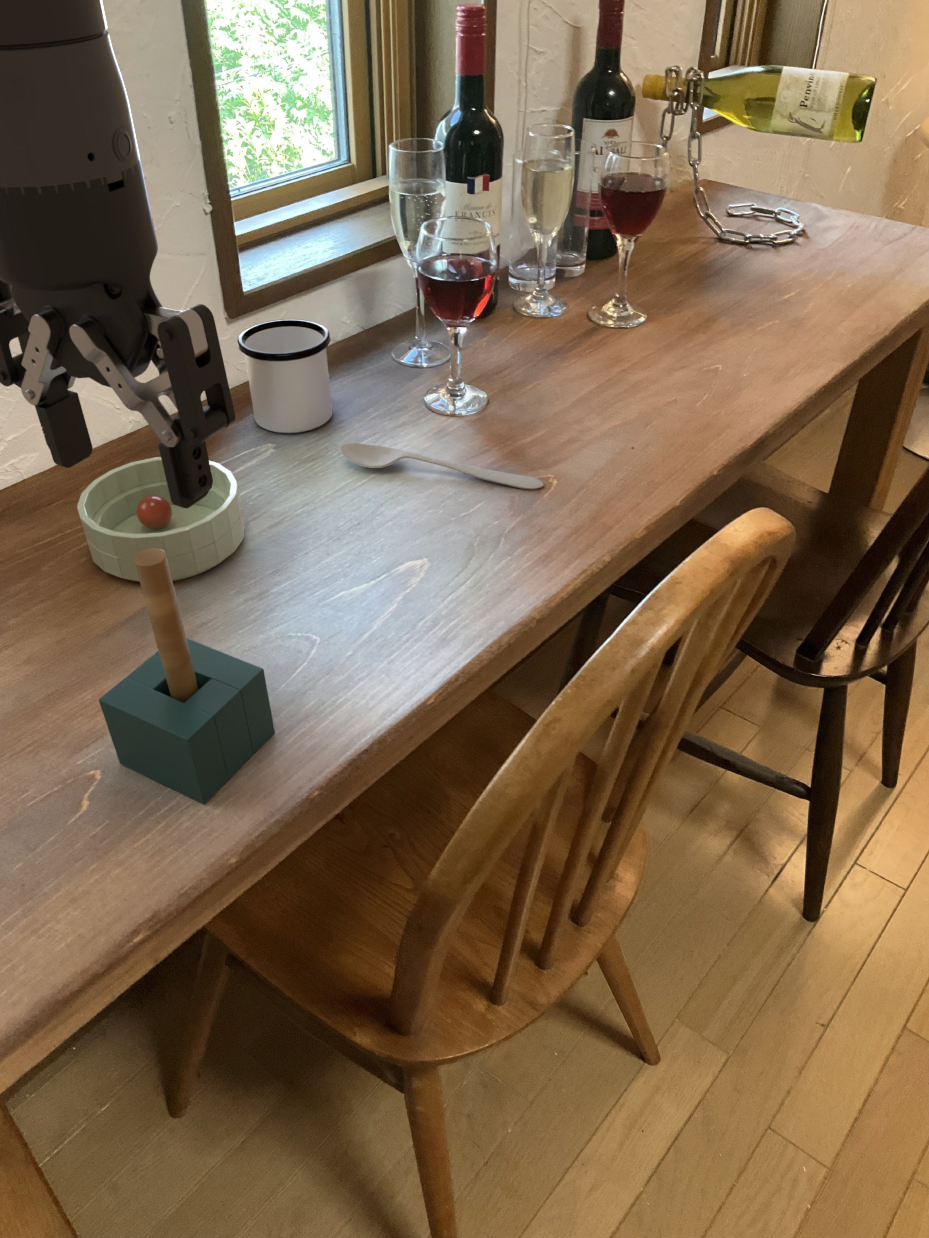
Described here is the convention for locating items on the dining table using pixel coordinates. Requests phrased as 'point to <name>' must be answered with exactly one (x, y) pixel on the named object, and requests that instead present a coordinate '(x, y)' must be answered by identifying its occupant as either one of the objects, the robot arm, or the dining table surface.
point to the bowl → (186, 539)
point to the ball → (154, 512)
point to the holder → (190, 722)
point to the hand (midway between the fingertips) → (132, 480)
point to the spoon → (387, 456)
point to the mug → (288, 374)
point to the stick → (166, 623)
